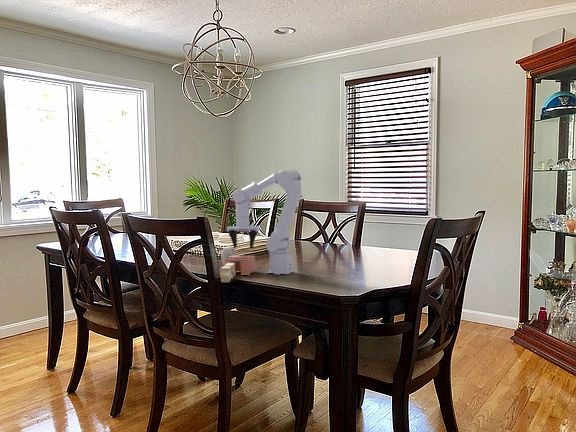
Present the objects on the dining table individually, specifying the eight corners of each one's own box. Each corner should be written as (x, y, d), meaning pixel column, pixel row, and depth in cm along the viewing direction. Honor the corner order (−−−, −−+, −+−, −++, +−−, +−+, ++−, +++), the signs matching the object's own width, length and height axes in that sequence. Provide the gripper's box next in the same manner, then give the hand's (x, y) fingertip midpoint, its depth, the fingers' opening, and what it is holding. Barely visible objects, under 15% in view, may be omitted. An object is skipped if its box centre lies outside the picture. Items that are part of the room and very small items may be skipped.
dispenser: (233, 270, 214) (233, 255, 213) (255, 271, 211) (254, 255, 211) (225, 275, 204) (224, 259, 203) (247, 276, 201) (247, 259, 201)
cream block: (227, 275, 203) (227, 262, 202) (235, 275, 202) (235, 262, 202) (221, 282, 191) (220, 268, 190) (229, 282, 190) (228, 268, 190)
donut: (239, 268, 218) (239, 246, 217) (233, 269, 216) (233, 247, 215) (225, 266, 225) (225, 244, 224) (219, 267, 223) (219, 245, 222)
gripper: (260, 216, 216) (261, 246, 217) (230, 216, 220) (231, 245, 221) (255, 217, 209) (256, 248, 211) (224, 217, 213) (225, 248, 214)
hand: (243, 247), depth 215 cm, fingers open, 7 cm apart
